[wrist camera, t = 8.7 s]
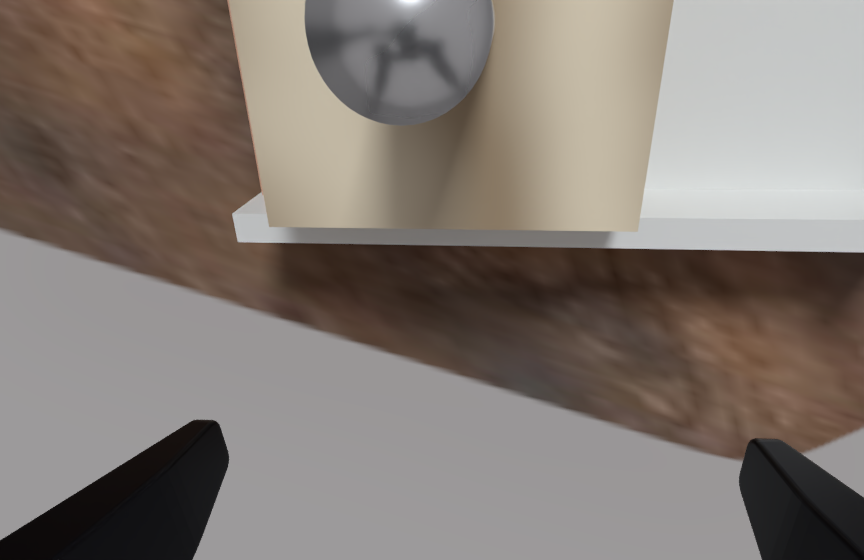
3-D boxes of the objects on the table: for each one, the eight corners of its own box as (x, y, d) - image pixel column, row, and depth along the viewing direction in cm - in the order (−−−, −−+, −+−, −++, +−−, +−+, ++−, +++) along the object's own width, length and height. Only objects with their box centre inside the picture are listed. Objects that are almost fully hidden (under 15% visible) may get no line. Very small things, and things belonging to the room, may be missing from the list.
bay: (281, 217, 21) (212, 281, 16) (206, -238, 15) (54, -372, 10) (901, 224, 19) (1056, 304, 13) (1117, -324, 12) (1556, -566, 7)
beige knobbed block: (320, 179, 19) (137, 347, 9) (276, -173, 15) (-162, -550, 5) (604, 180, 18) (730, 372, 8) (650, -202, 14) (1044, -769, 4)
